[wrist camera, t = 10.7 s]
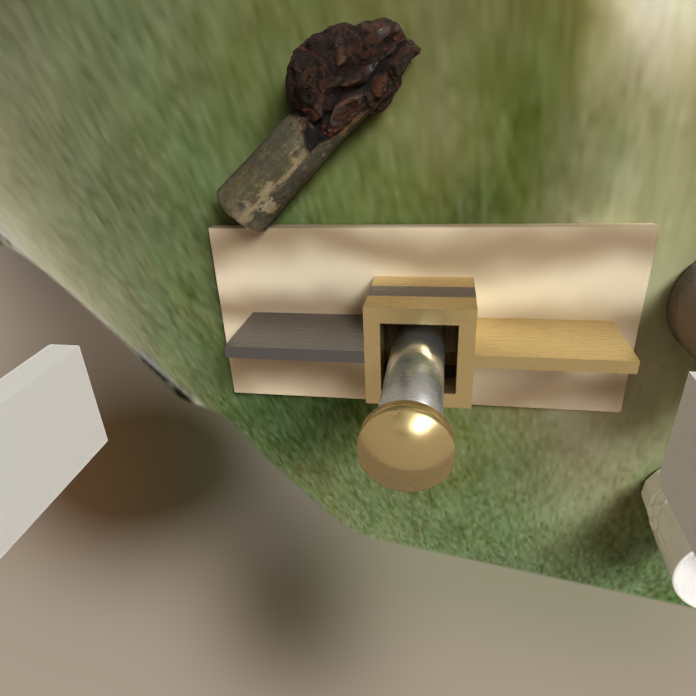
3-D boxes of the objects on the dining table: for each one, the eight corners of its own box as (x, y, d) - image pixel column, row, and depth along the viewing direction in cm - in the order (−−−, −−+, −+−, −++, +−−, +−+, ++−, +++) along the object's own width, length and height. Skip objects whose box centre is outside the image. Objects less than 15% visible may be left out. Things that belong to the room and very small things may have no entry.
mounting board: (213, 225, 46) (208, 228, 45) (654, 223, 40) (659, 226, 39) (238, 386, 53) (234, 392, 52) (616, 404, 47) (620, 412, 46)
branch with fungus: (270, 227, 46) (247, 244, 41) (212, 166, 44) (181, 176, 39) (431, 62, 38) (426, 59, 33) (367, -17, 37) (352, -33, 32)
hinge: (248, 274, 46) (217, 304, 40) (620, 278, 41) (650, 313, 35) (259, 356, 50) (232, 395, 44) (603, 370, 45) (628, 416, 38)
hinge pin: (389, 290, 45) (354, 409, 29) (455, 291, 44) (457, 415, 28) (390, 348, 47) (358, 487, 31) (452, 350, 46) (453, 495, 30)
